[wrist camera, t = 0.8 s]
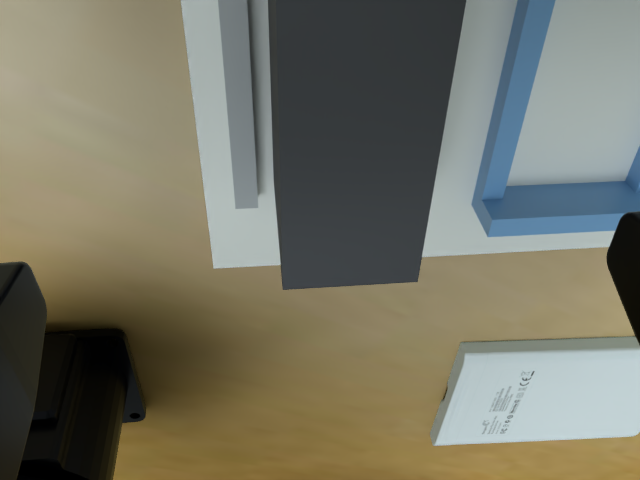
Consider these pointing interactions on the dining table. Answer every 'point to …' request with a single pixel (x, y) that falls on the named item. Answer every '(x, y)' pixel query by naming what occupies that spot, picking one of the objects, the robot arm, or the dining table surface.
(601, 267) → the dining table surface
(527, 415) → the external hard drive
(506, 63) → the board
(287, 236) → the dark gray block
